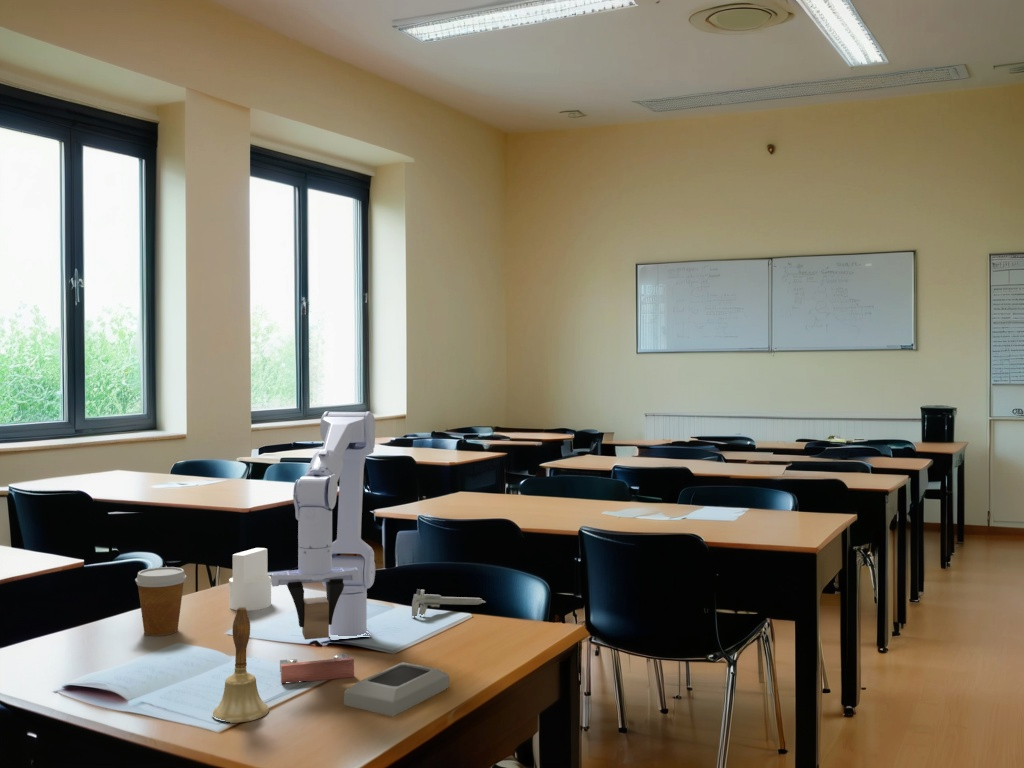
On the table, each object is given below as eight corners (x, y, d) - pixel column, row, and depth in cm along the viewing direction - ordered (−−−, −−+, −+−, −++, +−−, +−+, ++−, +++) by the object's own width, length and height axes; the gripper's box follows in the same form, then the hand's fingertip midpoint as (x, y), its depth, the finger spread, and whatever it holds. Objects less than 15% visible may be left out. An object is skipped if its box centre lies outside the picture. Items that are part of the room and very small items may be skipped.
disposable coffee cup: (124, 635, 181) (124, 574, 181) (159, 623, 190) (159, 565, 190) (162, 640, 178) (162, 578, 178) (196, 628, 187) (196, 568, 186)
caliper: (414, 620, 194) (415, 590, 194) (411, 619, 195) (411, 589, 194) (485, 603, 208) (486, 576, 208) (482, 602, 209) (482, 575, 209)
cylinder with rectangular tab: (254, 612, 199) (254, 556, 199) (220, 608, 202) (220, 553, 202) (279, 602, 208) (279, 549, 207) (246, 599, 211) (246, 546, 211)
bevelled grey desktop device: (344, 683, 144) (402, 658, 157) (344, 707, 144) (402, 679, 157) (393, 694, 139) (449, 667, 152) (393, 719, 139) (449, 689, 152)
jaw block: (302, 633, 160) (302, 598, 160) (325, 631, 161) (325, 596, 161) (304, 639, 156) (304, 604, 156) (328, 637, 157) (328, 602, 157)
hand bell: (219, 704, 144) (218, 602, 144) (273, 702, 144) (273, 601, 144) (205, 724, 135) (205, 616, 135) (263, 722, 136) (263, 615, 136)
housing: (278, 671, 159) (278, 654, 159) (347, 665, 163) (347, 648, 163) (281, 684, 153) (281, 666, 153) (354, 676, 157) (354, 659, 157)
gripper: (273, 552, 152) (273, 634, 153) (361, 547, 157) (361, 626, 157) (270, 544, 159) (270, 623, 159) (354, 540, 164) (354, 616, 164)
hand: (315, 624), depth 159 cm, fingers closed on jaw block, 4 cm apart
